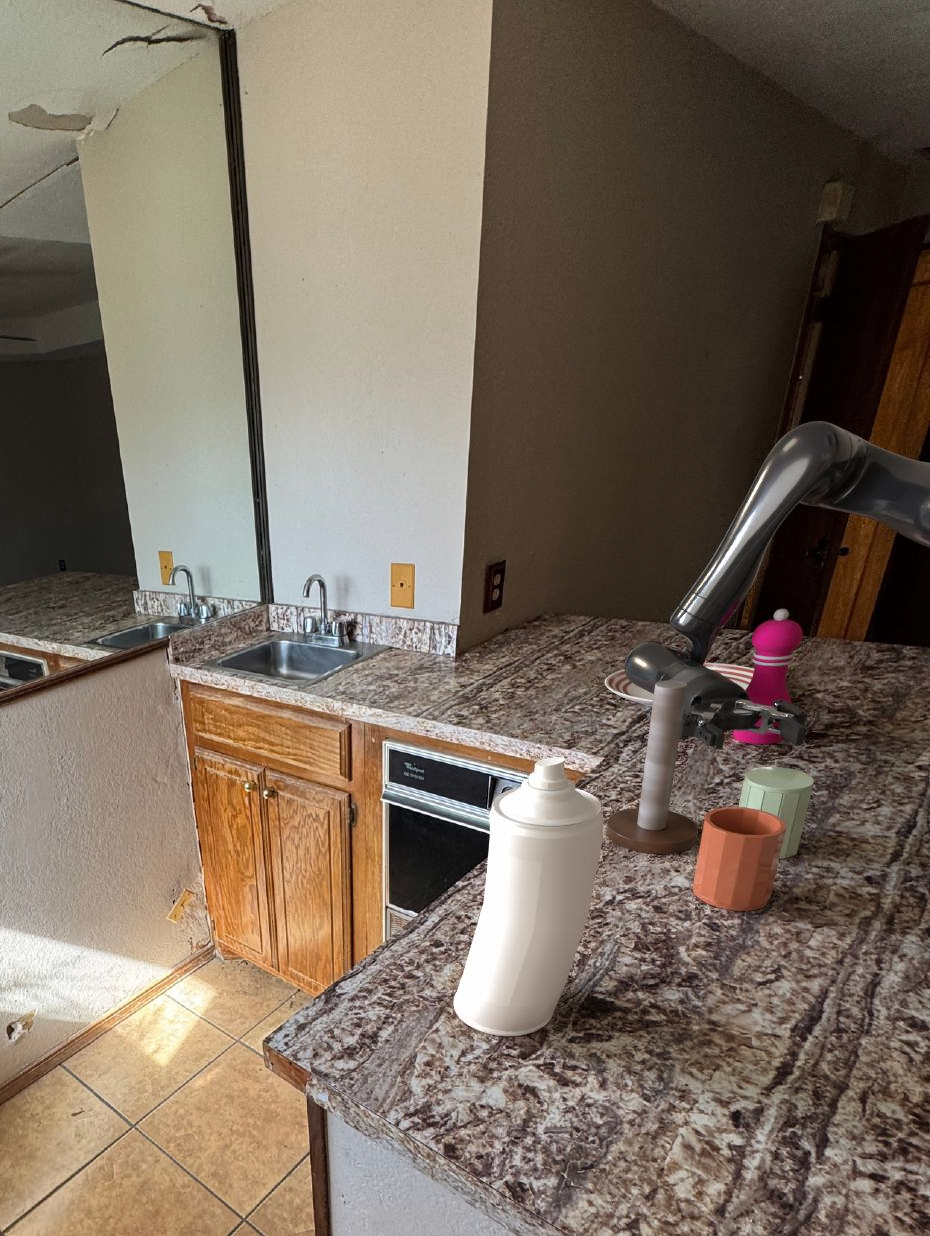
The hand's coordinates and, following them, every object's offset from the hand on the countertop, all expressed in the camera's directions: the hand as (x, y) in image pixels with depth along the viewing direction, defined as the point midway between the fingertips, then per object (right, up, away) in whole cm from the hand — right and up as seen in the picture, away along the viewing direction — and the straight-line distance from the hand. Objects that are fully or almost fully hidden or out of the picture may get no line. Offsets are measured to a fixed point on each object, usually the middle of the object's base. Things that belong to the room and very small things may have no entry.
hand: (760, 739), depth 89 cm
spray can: (-37, -27, -18) cm, 49 cm away
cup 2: (-9, -18, -8) cm, 21 cm away
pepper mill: (+20, +3, +27) cm, 34 cm away
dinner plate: (+21, +13, +47) cm, 53 cm away
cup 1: (0, -13, 0) cm, 13 cm away
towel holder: (-10, -12, +6) cm, 16 cm away
